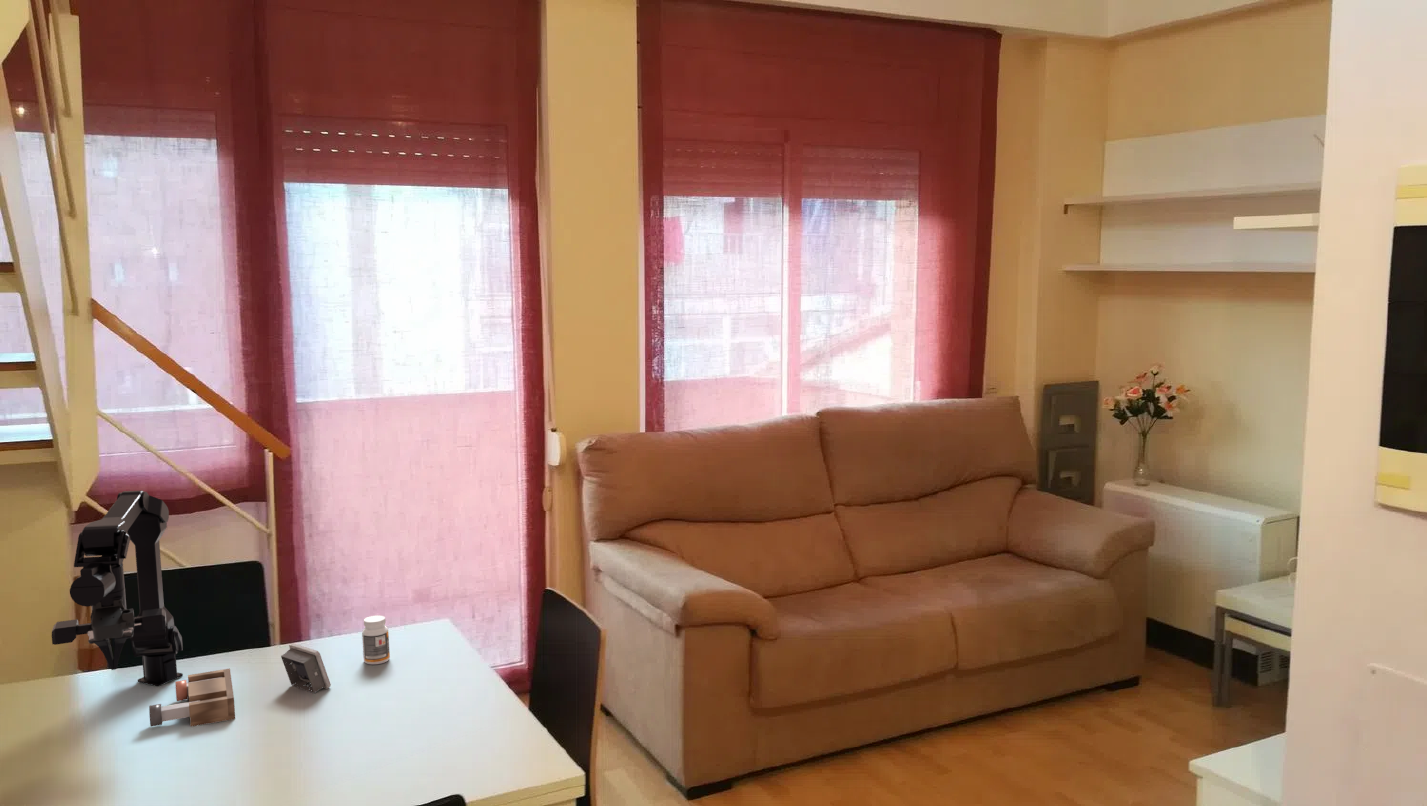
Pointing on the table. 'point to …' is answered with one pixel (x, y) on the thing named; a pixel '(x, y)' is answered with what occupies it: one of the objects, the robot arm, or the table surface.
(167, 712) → the white and gray knob
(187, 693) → the red knob
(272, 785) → the table surface
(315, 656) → the electrical switch
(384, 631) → the pill bottle
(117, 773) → the table surface
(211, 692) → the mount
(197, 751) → the table surface
